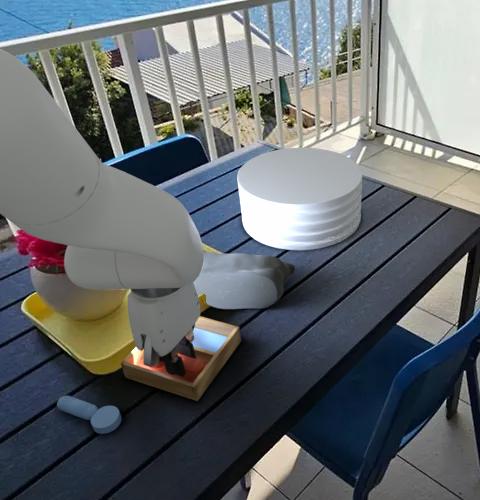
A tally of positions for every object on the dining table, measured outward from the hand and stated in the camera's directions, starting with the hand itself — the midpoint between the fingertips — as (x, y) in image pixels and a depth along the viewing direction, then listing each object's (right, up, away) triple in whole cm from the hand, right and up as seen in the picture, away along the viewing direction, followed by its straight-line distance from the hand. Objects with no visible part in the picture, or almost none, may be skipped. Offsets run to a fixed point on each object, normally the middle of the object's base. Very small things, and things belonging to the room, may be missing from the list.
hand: (181, 365), depth 78 cm
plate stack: (+15, +26, +41) cm, 51 cm away
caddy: (-1, 0, +4) cm, 4 cm away
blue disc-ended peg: (-12, -6, -5) cm, 14 cm away
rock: (+5, +10, +19) cm, 22 cm away
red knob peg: (-1, 0, 0) cm, 1 cm away
